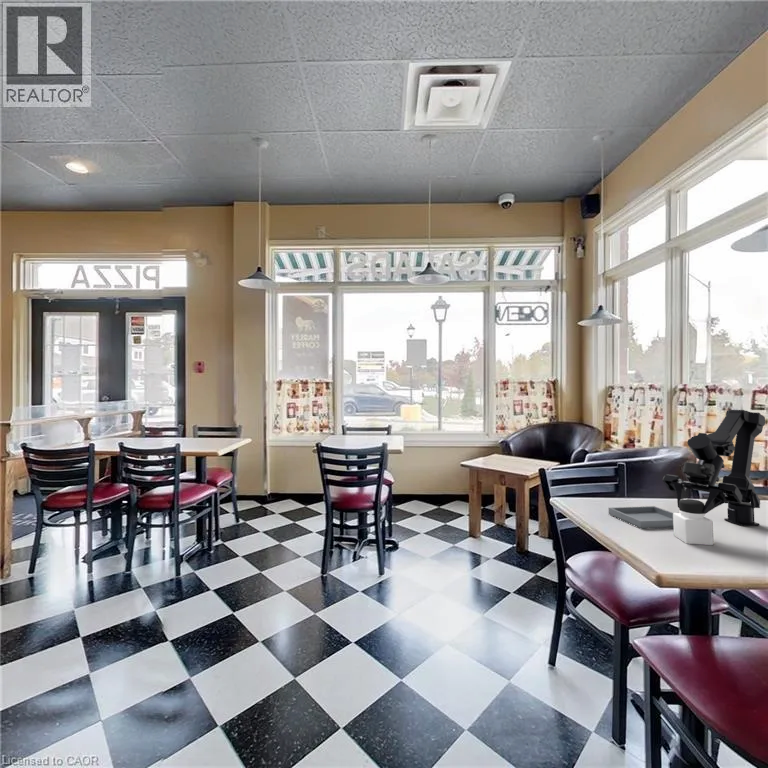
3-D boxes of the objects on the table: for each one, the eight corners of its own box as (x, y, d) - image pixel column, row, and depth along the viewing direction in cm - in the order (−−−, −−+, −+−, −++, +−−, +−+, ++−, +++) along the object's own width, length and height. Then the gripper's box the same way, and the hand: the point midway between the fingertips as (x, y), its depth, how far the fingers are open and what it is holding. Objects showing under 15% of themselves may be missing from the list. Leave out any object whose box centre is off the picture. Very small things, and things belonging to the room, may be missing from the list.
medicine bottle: (714, 545, 111) (712, 503, 112) (686, 544, 113) (684, 502, 113) (699, 536, 118) (697, 497, 119) (673, 535, 120) (671, 496, 120)
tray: (654, 512, 143) (654, 506, 143) (692, 527, 127) (691, 519, 127) (608, 514, 142) (608, 507, 142) (640, 529, 126) (640, 521, 126)
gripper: (664, 449, 127) (646, 487, 122) (735, 456, 111) (719, 500, 105) (677, 471, 131) (661, 508, 125) (749, 481, 114) (734, 525, 108)
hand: (691, 510), depth 116 cm, fingers closed on medicine bottle, 6 cm apart
